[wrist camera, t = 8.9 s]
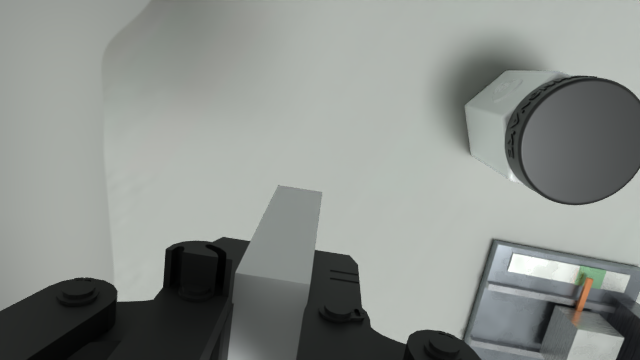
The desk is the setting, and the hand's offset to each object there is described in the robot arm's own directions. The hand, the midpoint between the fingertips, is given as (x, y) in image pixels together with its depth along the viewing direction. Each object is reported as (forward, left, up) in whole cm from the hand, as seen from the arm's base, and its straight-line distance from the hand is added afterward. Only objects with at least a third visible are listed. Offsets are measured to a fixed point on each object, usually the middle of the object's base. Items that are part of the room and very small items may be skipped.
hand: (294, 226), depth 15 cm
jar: (-4, +16, -26) cm, 31 cm away
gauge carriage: (+13, +26, -24) cm, 38 cm away
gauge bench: (+14, +25, -26) cm, 39 cm away
